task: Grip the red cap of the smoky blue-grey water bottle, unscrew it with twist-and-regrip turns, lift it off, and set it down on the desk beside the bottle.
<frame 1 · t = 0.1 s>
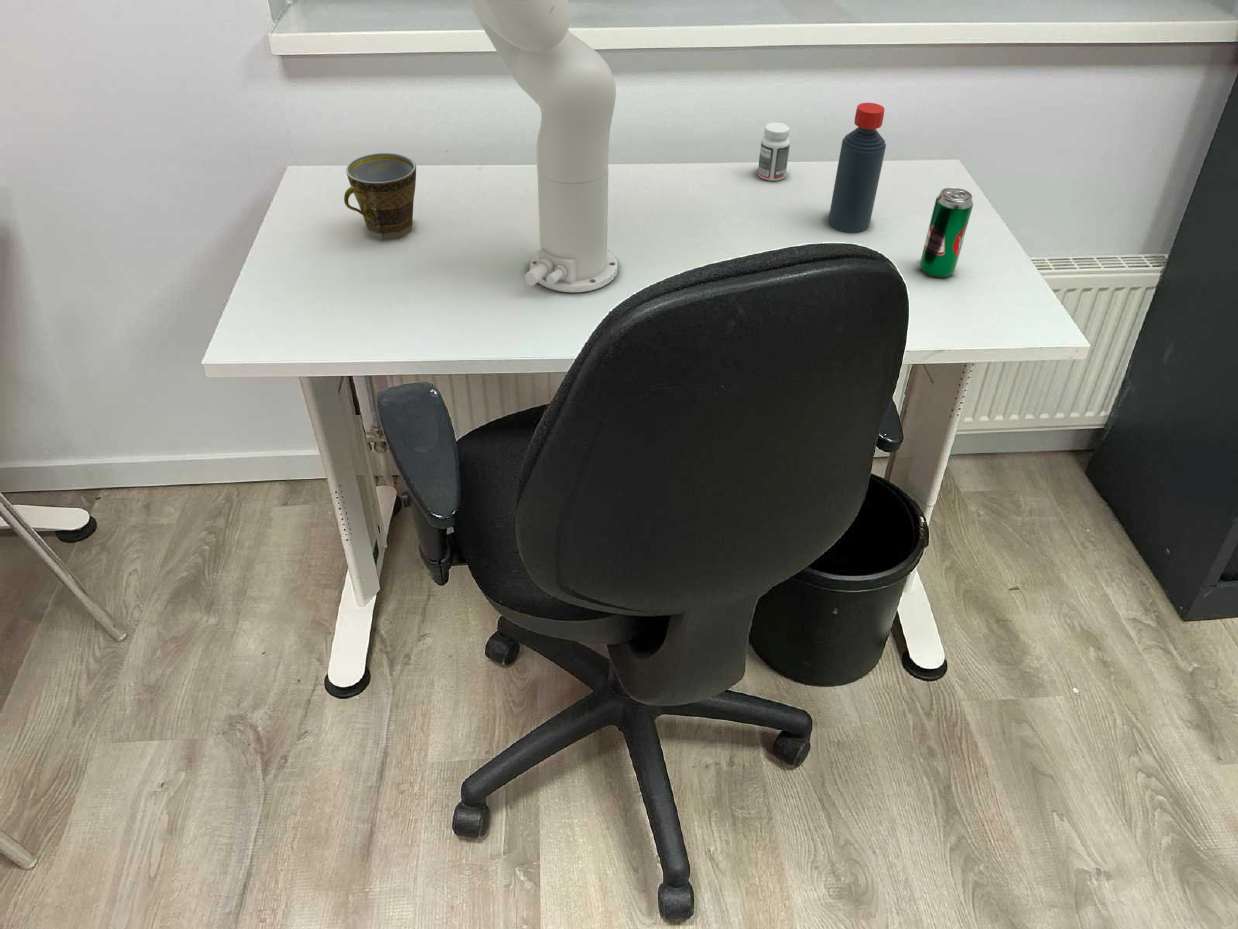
pill bottle: (771, 176, 168), on the table
bottle: (848, 222, 156), on the table
cap: (870, 110, 144), point 18 cm above the table, screwed on, not yet turned
ceramic cup: (383, 234, 150), on the table
soda can: (935, 271, 145), on the table
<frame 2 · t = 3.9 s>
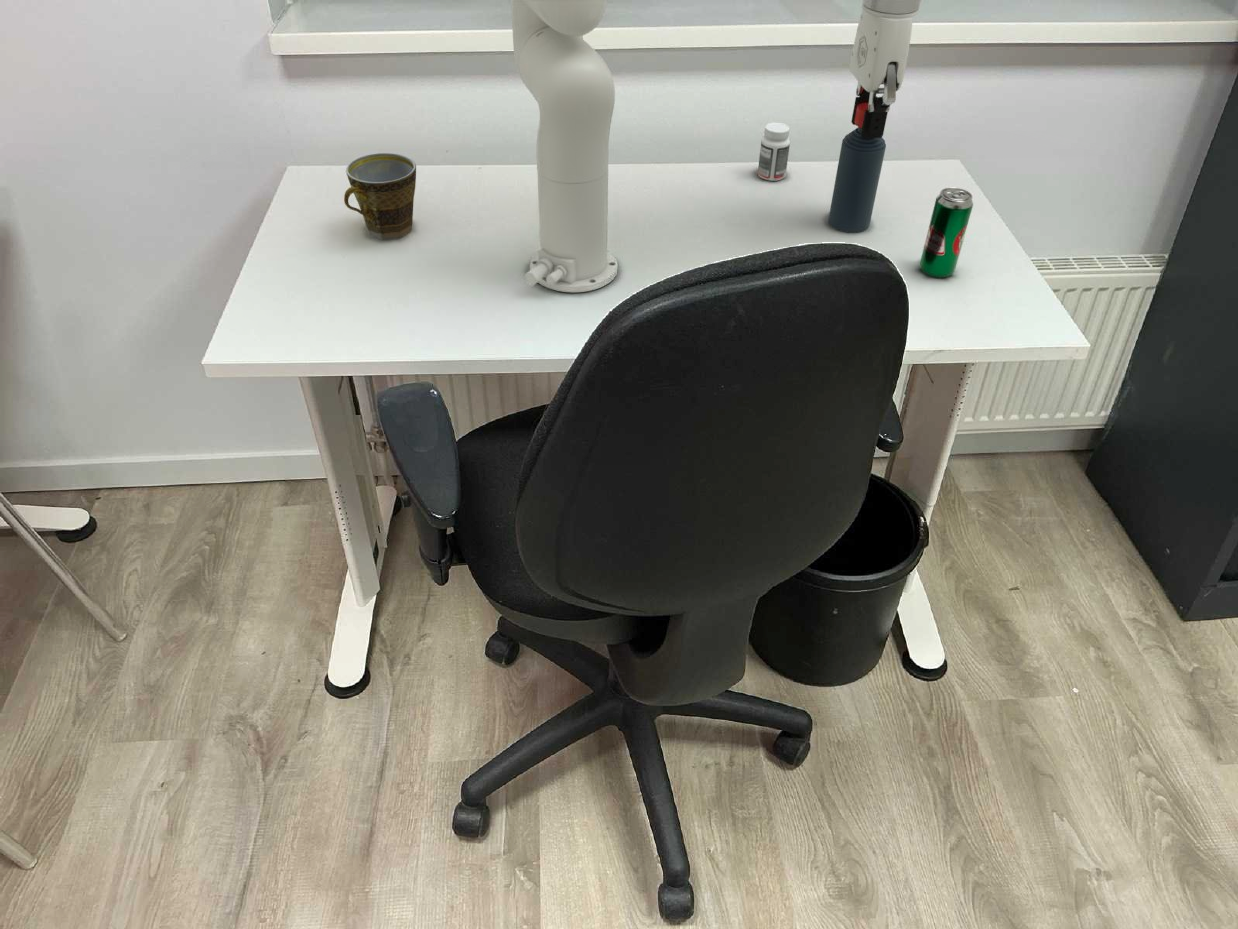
hand: (866, 129, 146), 15 cm above the table, tool pointing down, fingers closed on cap, 3 cm apart
cap: (870, 110, 144), point 18 cm above the table, screwed on, not yet turned, touching gripper
everything else where it was.
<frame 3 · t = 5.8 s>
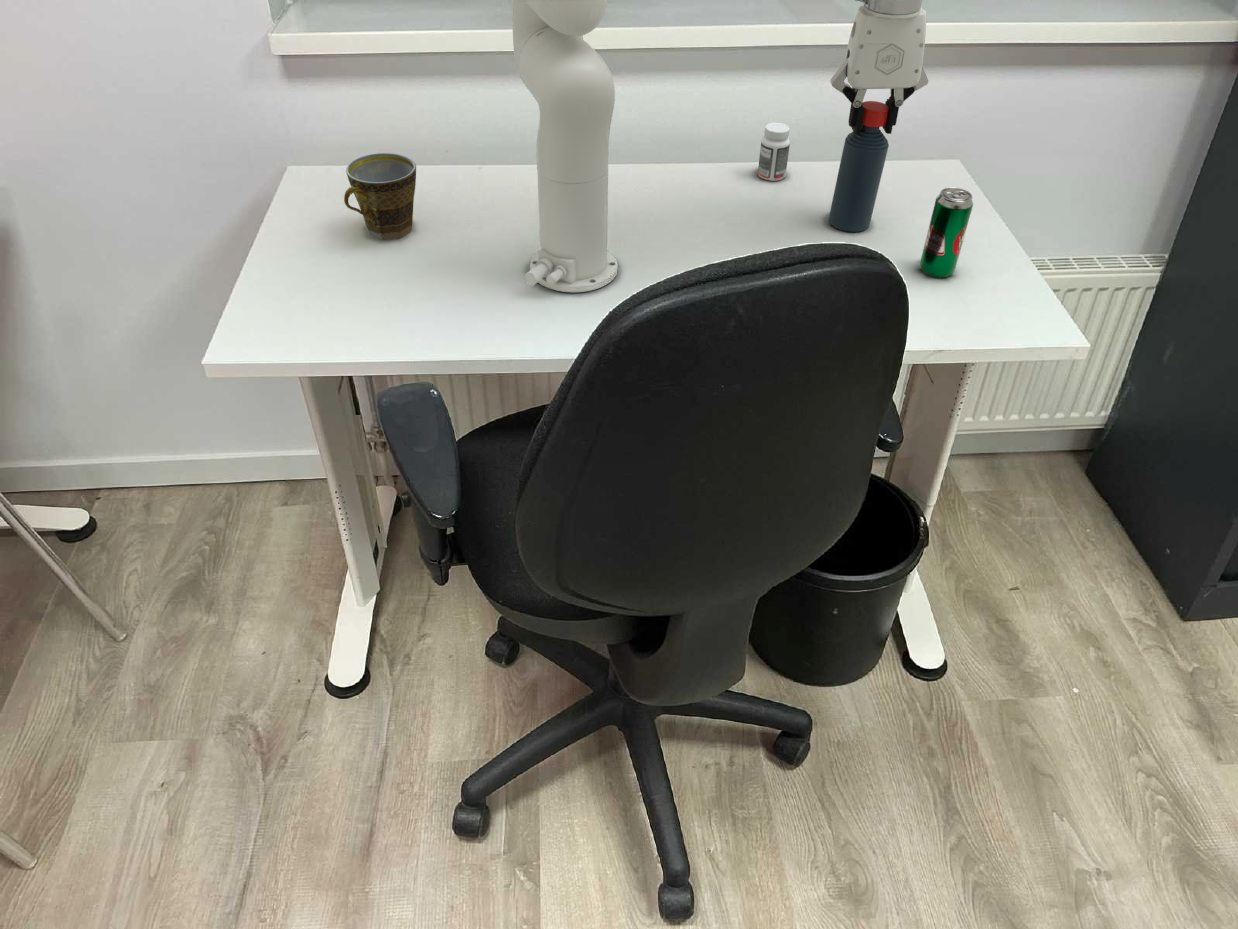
hand: (871, 128, 146), 15 cm above the table, tool pointing down, fingers closed on cap, 3 cm apart
cap: (874, 108, 144), point 18 cm above the table, turned 86° so far, risen 0.1 cm, still on its thread, touching gripper
everything else where it was.
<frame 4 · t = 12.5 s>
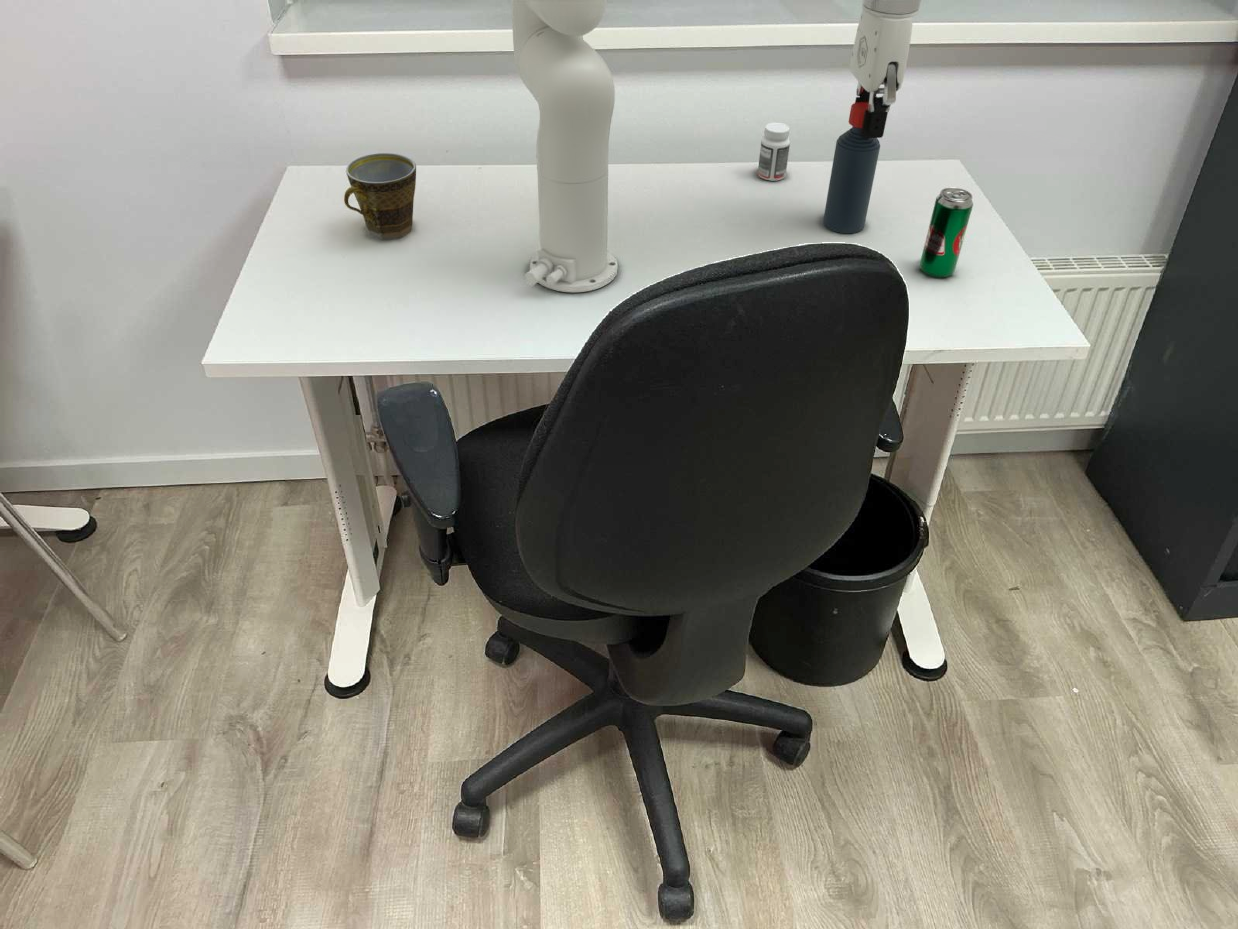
hand: (867, 129, 146), 15 cm above the table, tool pointing down, fingers closed on cap, 3 cm apart
cap: (864, 109, 144), point 18 cm above the table, turned 87° so far, risen 0.1 cm, still on its thread, touching gripper
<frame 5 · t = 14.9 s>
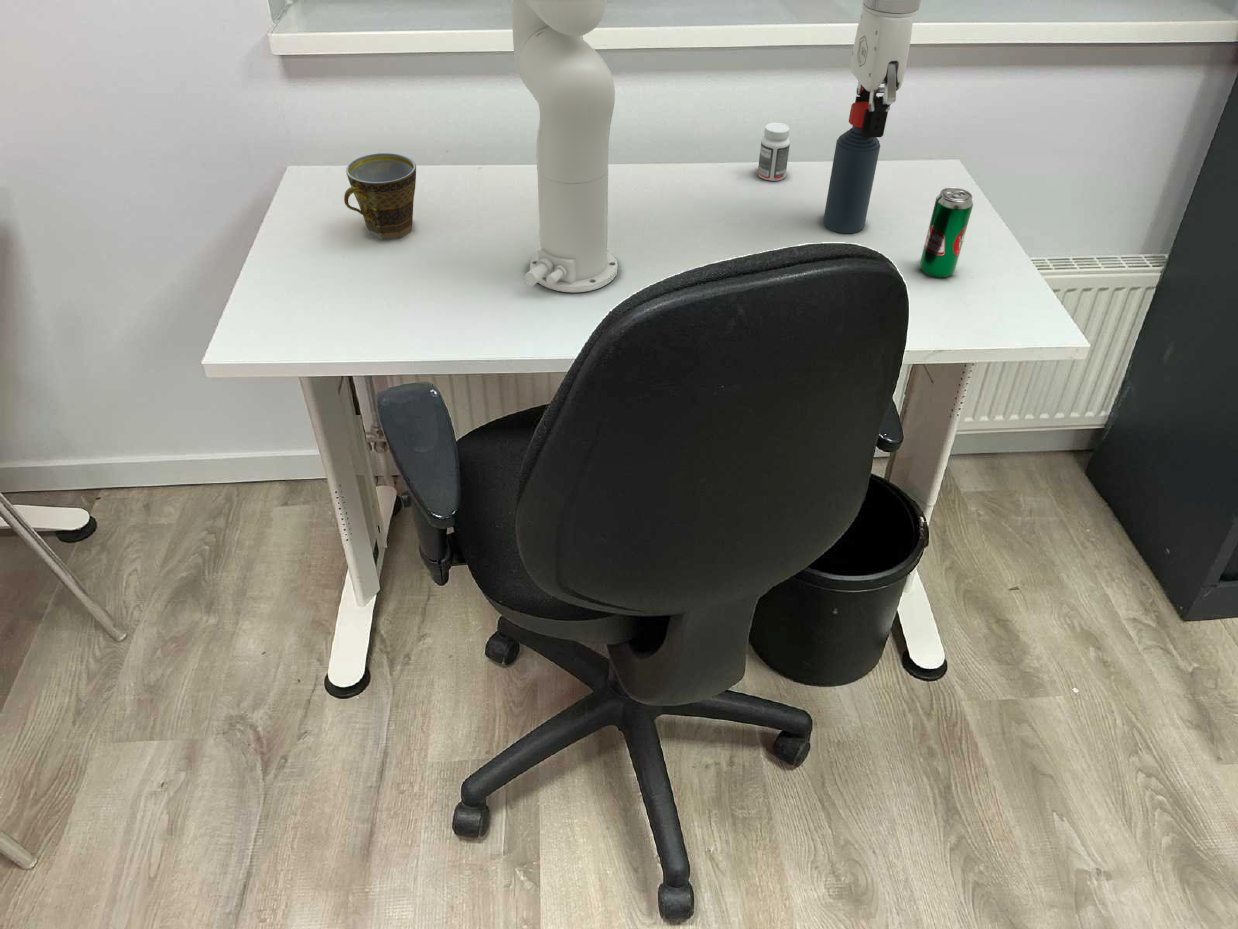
hand: (867, 128, 146), 15 cm above the table, tool pointing down, fingers closed on cap, 3 cm apart
cap: (864, 109, 144), point 18 cm above the table, turned 173° so far, risen 0.2 cm, still on its thread, touching gripper
everything else where it was.
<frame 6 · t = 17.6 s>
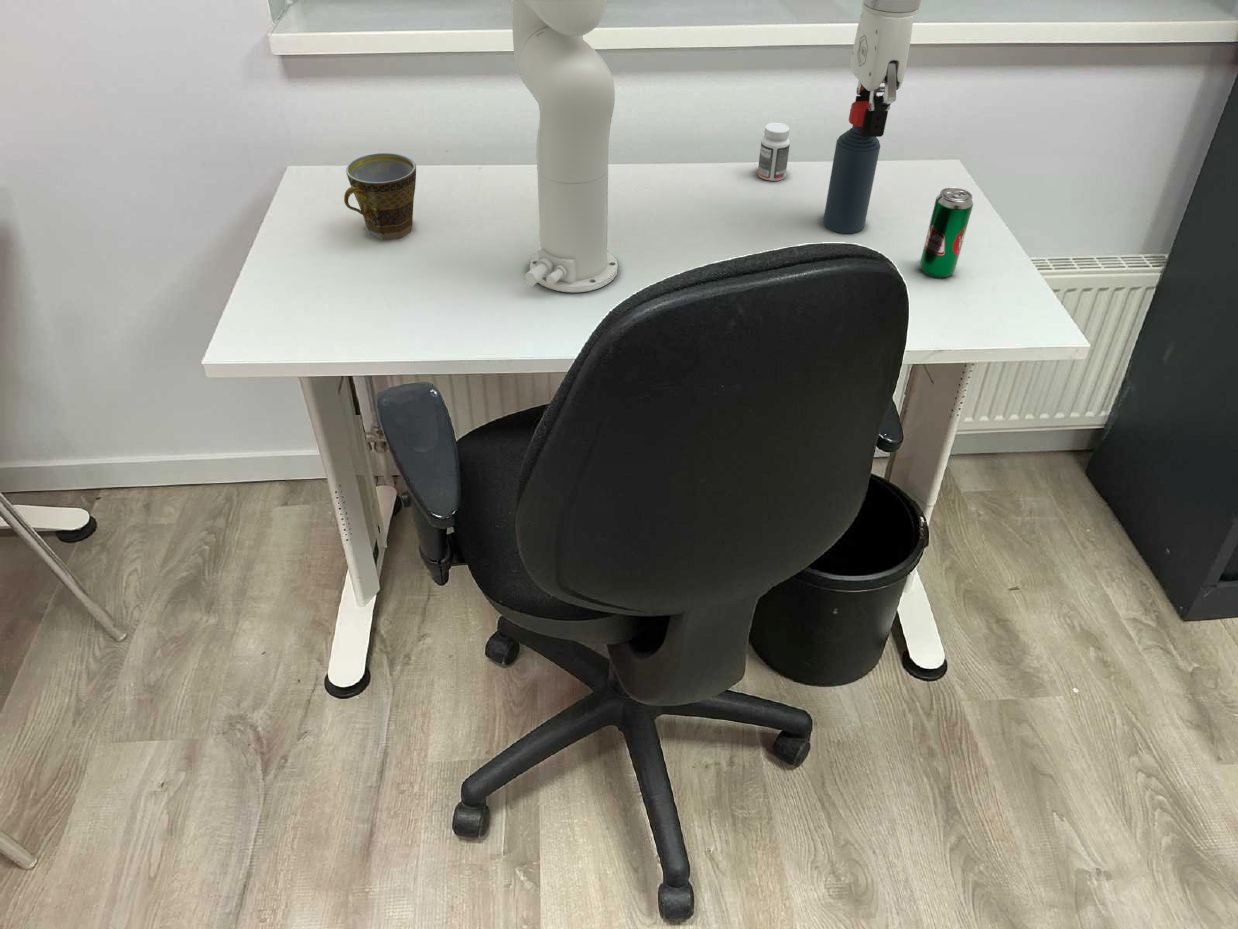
hand: (867, 128, 146), 15 cm above the table, tool pointing down, fingers closed on cap, 3 cm apart
cap: (864, 108, 143), point 18 cm above the table, turned 260° so far, risen 0.3 cm, still on its thread, touching gripper
everything else where it was.
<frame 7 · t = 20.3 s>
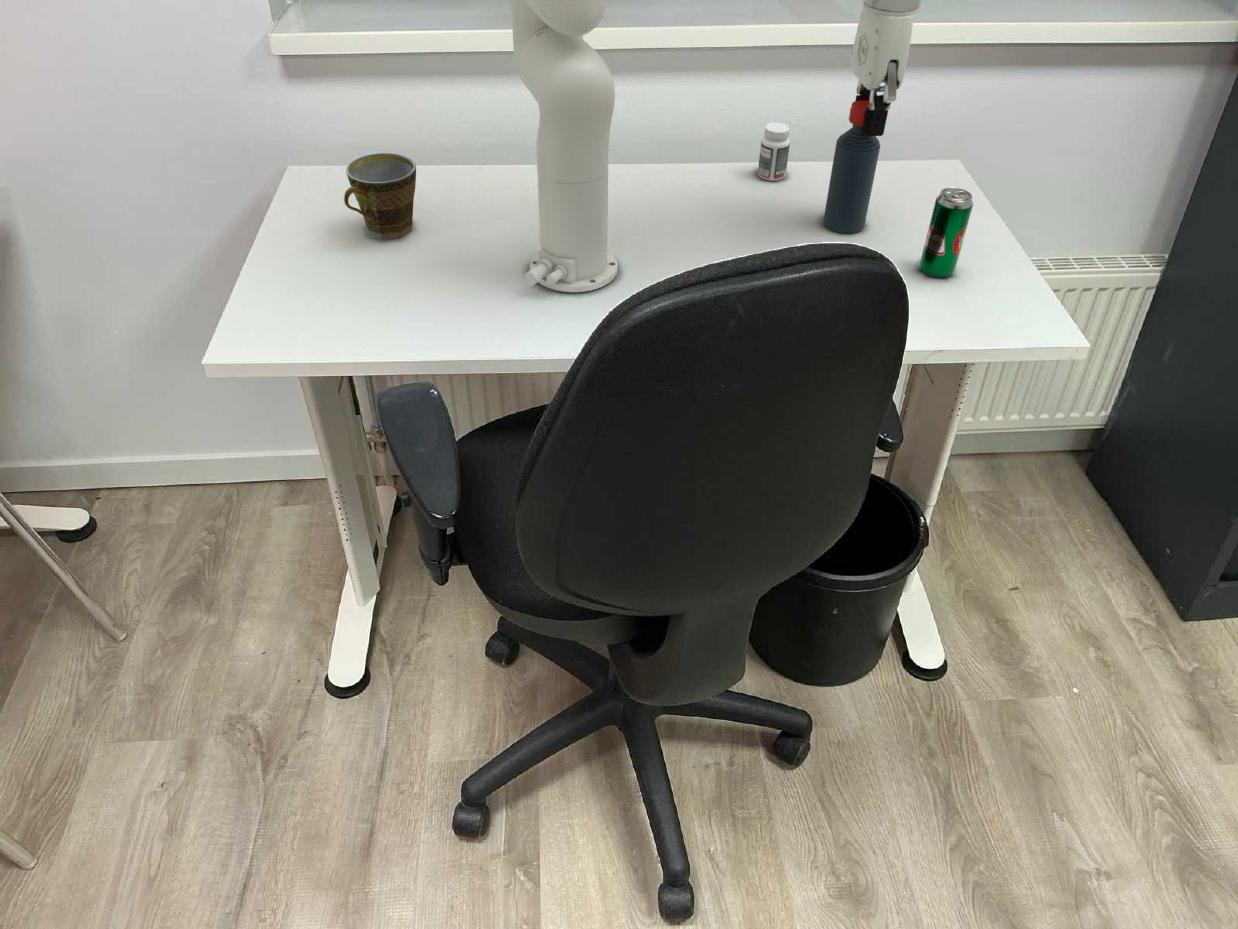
hand: (867, 127, 145), 15 cm above the table, tool pointing down, fingers closed on cap, 3 cm apart
cap: (864, 107, 143), point 18 cm above the table, turned 347° so far, risen 0.4 cm, still on its thread, touching gripper
everything else where it was.
when the fingers open (1 cm above the table, at t = 31.4 s): cap drops 2 cm, point 2 cm above the table.
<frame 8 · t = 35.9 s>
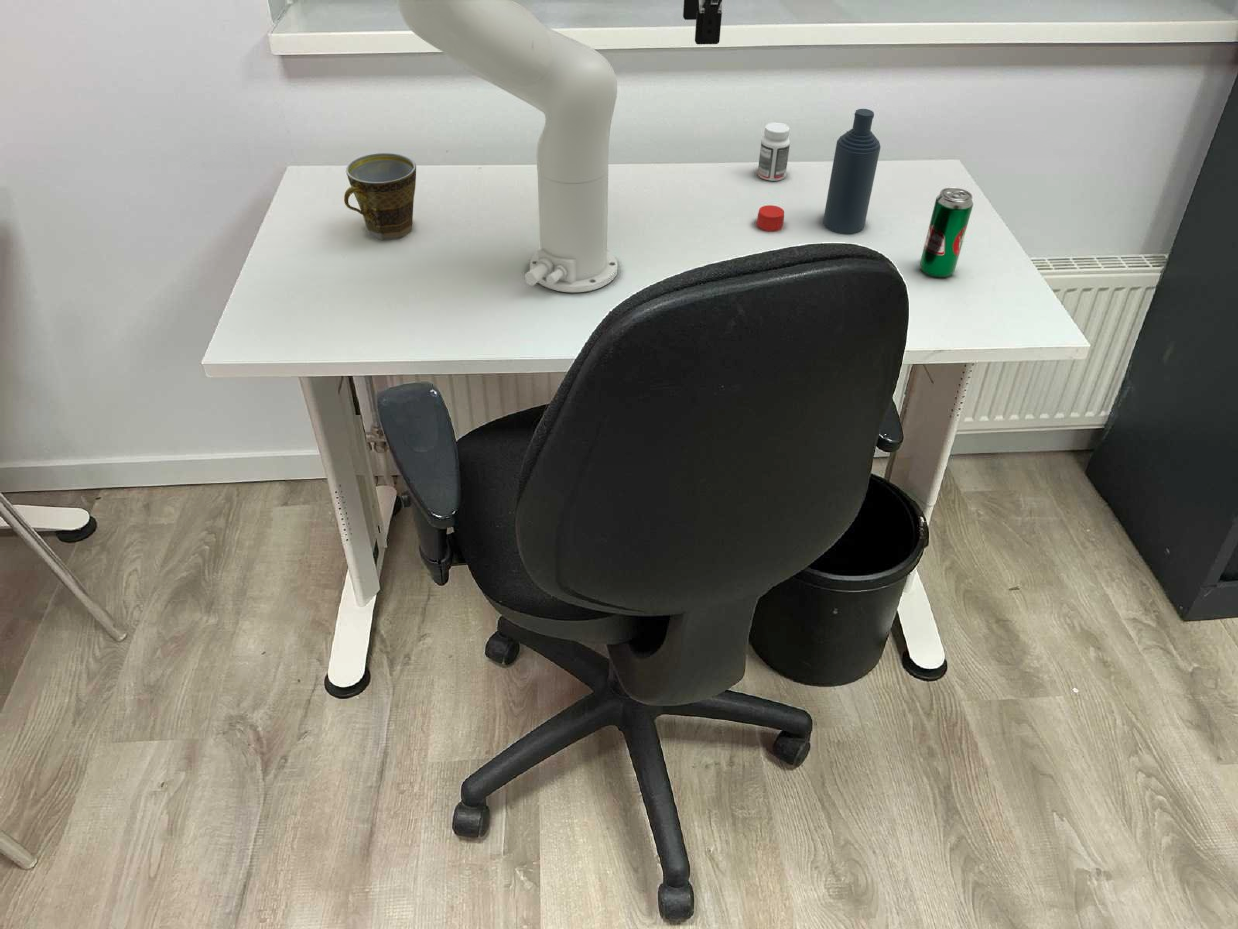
hand: (700, 30, 134), 29 cm above the table, tool pointing down, fingers open, 9 cm apart
cap: (771, 213, 153), point 2 cm above the table, off its thread
everything else where it was.
at the end: cap came off its thread; cap point 2.0 cm above the table; the gripper is holding nothing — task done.
